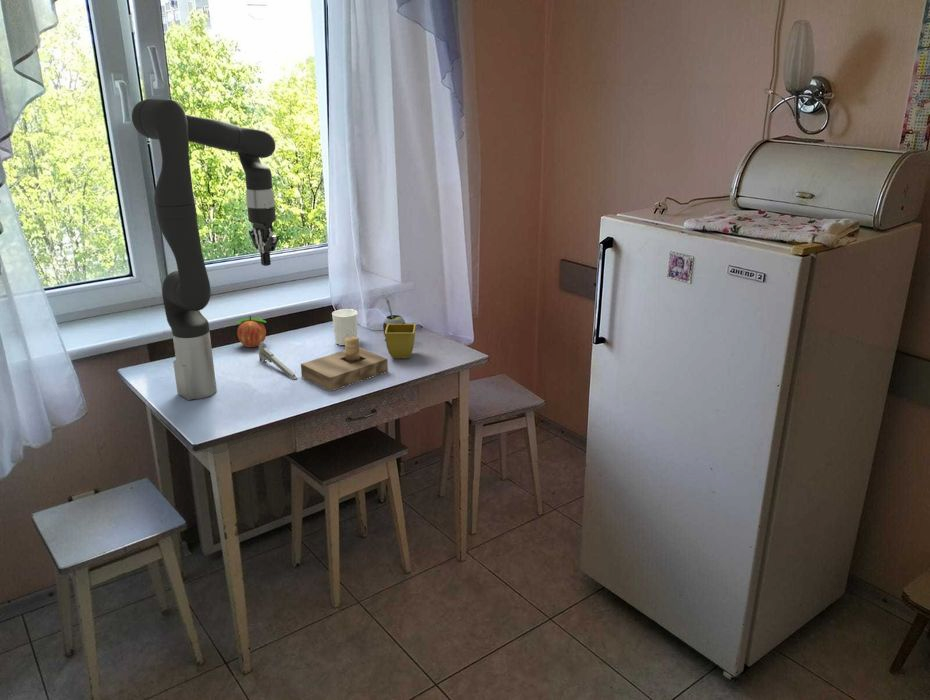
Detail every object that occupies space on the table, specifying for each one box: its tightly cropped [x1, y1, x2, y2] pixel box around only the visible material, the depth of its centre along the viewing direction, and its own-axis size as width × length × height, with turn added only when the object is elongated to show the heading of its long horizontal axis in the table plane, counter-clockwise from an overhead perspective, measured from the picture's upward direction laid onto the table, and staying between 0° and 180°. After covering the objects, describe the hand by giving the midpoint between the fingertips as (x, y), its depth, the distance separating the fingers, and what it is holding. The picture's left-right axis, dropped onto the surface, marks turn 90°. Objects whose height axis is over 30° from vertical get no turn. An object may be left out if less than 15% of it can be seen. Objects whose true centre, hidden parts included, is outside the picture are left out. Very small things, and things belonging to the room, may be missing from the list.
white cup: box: [331, 308, 359, 346], centre depth 239 cm, size 8×8×10 cm
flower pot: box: [384, 323, 416, 359], centre depth 228 cm, size 9×9×9 cm
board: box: [300, 346, 389, 392], centre depth 215 cm, size 20×14×4 cm
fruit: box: [234, 315, 267, 348], centre depth 235 cm, size 9×10×10 cm
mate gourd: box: [381, 292, 406, 342], centre depth 240 cm, size 8×8×15 cm
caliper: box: [258, 342, 298, 380], centre depth 218 cm, size 20×1×6 cm, turn 42°
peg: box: [344, 336, 360, 364], centre depth 216 cm, size 4×4×10 cm
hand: (266, 265), depth 217 cm, fingers closed
